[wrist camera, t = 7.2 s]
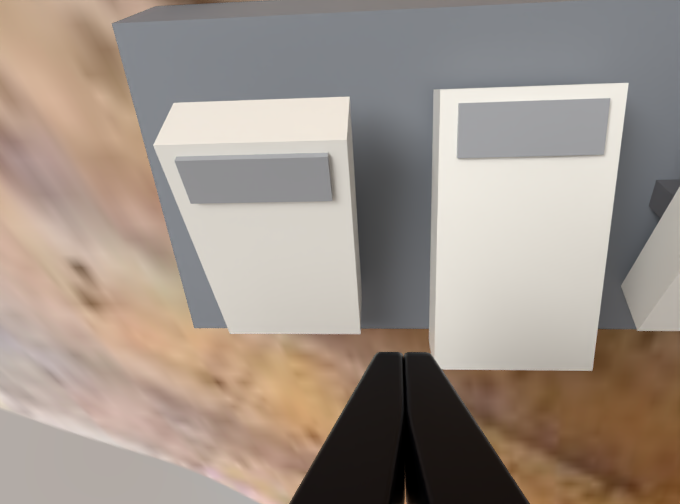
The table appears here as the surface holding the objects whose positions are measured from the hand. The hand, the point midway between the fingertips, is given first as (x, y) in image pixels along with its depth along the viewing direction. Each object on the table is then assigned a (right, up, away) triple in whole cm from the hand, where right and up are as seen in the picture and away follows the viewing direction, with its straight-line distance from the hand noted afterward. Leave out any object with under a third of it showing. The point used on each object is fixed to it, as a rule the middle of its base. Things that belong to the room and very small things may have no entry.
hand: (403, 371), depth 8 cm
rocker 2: (+3, +2, +5) cm, 7 cm away
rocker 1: (-3, +2, +6) cm, 7 cm away
